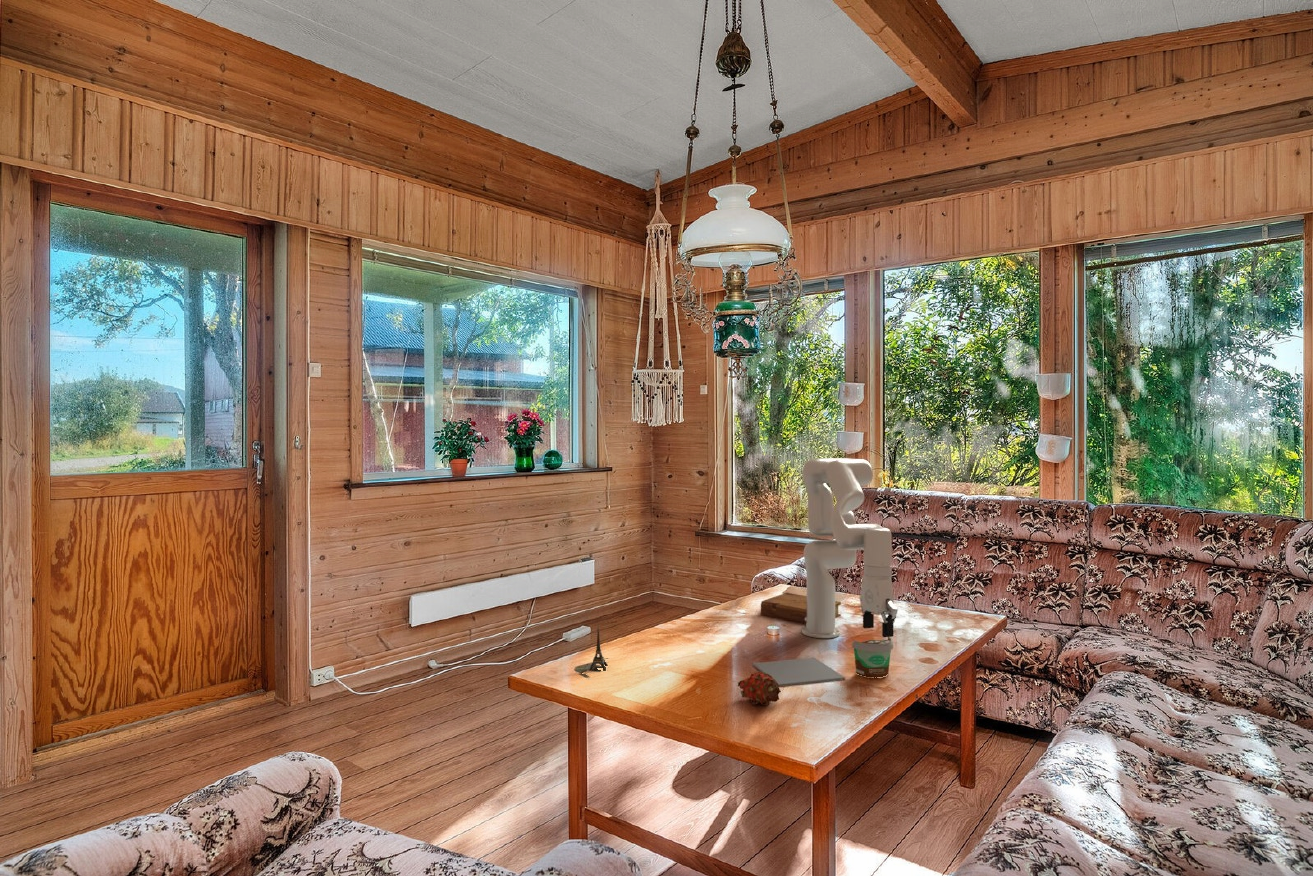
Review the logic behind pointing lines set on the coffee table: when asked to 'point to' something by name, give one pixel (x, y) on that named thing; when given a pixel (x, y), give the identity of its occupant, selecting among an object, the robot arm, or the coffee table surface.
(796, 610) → the brown flat wooden box
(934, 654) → the coffee table surface
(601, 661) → the eiffel tower figurine
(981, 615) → the coffee table surface
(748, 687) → the dragon fruit
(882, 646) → the food container
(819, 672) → the mat
